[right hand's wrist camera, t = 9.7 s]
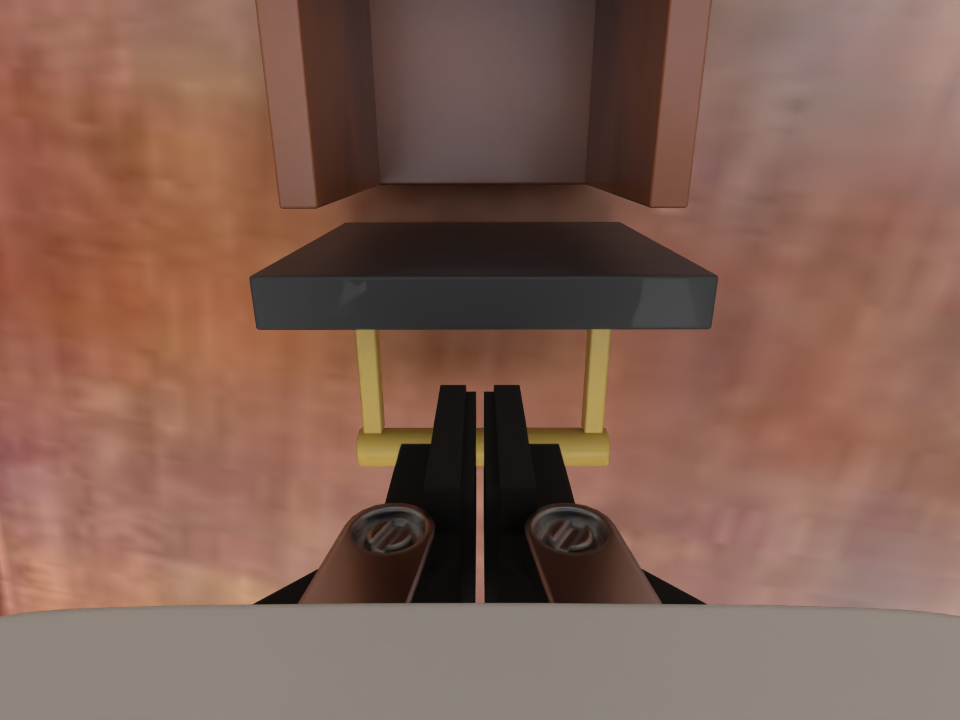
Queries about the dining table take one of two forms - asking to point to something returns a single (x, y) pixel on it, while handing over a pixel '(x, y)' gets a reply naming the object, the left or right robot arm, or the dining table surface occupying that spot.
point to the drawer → (483, 176)
